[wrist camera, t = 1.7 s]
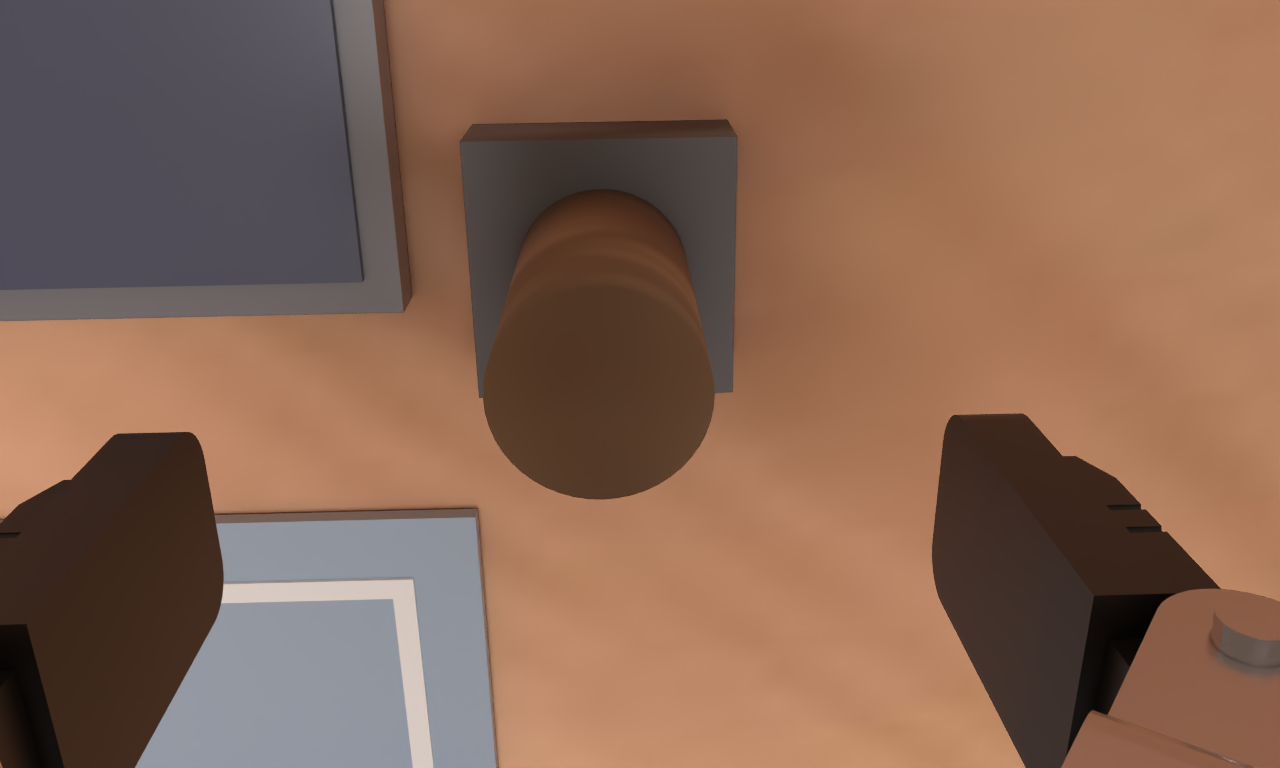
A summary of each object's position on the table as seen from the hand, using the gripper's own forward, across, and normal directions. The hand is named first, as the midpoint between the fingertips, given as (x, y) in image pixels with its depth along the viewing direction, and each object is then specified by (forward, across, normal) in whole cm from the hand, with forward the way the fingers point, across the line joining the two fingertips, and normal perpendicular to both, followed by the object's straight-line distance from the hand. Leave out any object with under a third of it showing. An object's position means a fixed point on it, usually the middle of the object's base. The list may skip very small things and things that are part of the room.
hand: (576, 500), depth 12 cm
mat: (+11, +9, +12) cm, 19 cm away
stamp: (+11, 0, 0) cm, 11 cm away
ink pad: (+12, +9, -3) cm, 15 cm away
